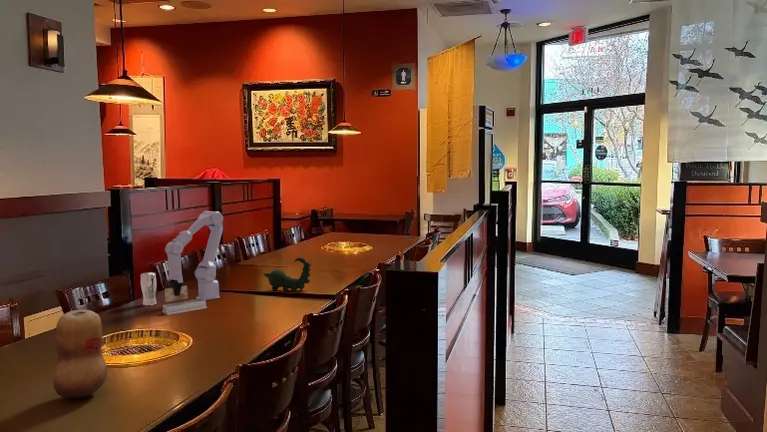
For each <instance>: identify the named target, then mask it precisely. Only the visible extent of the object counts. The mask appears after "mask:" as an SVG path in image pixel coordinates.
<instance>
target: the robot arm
mask: <svg viewBox="0 0 767 432" xmlns="http://www.w3.org/2000/svg"><path fill="white" fill-rule="evenodd" d="M223 221H224V216H223V214H222V213H221V212H220V211H218V210H217V211H213V210H212V211H211V210H210V211H209V210H203V211H202V212H201V214H199V215H198V218H197V219H195V221H194V222H193V223H192V224H191V226H190V227H188V229H187V230H182V231H180V232H179V233H178V235H177V236H176V237H175V238H173V239H172V240H171V241H169V242H168V243H167V244H166V246H165V248H164V251H165V253H166V255H167V264H168V265H167V267H168V276H166V280H168V281H167V282H168V284H169V286H170V288H173V290H174V295H175V296H179V295H180V291H181V287H182V286H183V285H184V282H185V281H184V280H183V279H184V278H183V273H182V272H183V271H182V258H181V257H182V255H181V254H182V253H183V251H184V248H185V247H186V246H187V244H189V243H190V242H191V241H192V240H193V235H194V234H195V233H197V232H198V231H199V230H201V228H203V227H204V226H207V227H208V228H209V230H210V233H209V236H208V240H207V245H206V248H205V251H204V256H203V258H202V260H201V262H199V263H198V265H197V267H196V269H195V271H194V276H195V278H196V280H197V285H198V286H197V287H198V289H197V290H198V296H196V297H195V298H196V299H204V300H206V301H209V300H215V299H220V298H221V296H220V284H219V281H218V280H217V279H216V276H217V271H216V270H217V266H216V264H215V260H216V256H217V253H218V249H219V246H220V242H221V238H222V235H223V231H224V227H223Z"/></svg>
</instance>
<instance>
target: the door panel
mask: <svg viewBox="0 0 767 432" xmlns="http://www.w3.org/2000/svg"><path fill="white" fill-rule="evenodd" d="M188 295H189V294H188V286H187V285H182V287H181V291H180V295H179V296H175V295H174V290H173V288H171V287H168V288H164V299H165V303H169V302H174V301H180V300H186V299H188Z"/></svg>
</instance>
